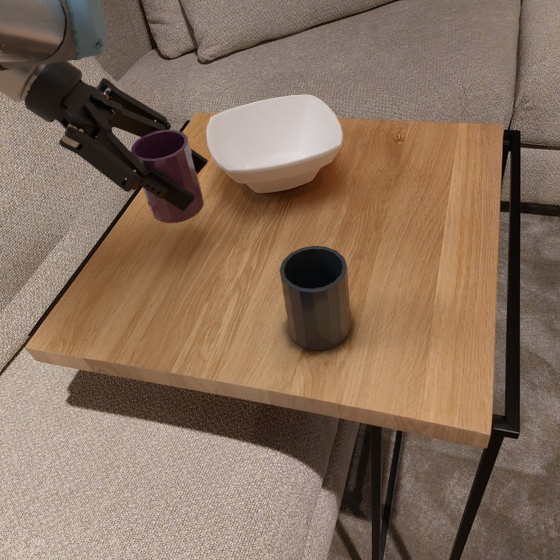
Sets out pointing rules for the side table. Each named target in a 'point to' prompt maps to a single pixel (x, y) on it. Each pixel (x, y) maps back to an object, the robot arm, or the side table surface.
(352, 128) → the side table surface
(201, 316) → the side table surface
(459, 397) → the side table surface
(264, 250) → the side table surface
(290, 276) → the slate cup
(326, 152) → the bowl
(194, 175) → the plum cup
